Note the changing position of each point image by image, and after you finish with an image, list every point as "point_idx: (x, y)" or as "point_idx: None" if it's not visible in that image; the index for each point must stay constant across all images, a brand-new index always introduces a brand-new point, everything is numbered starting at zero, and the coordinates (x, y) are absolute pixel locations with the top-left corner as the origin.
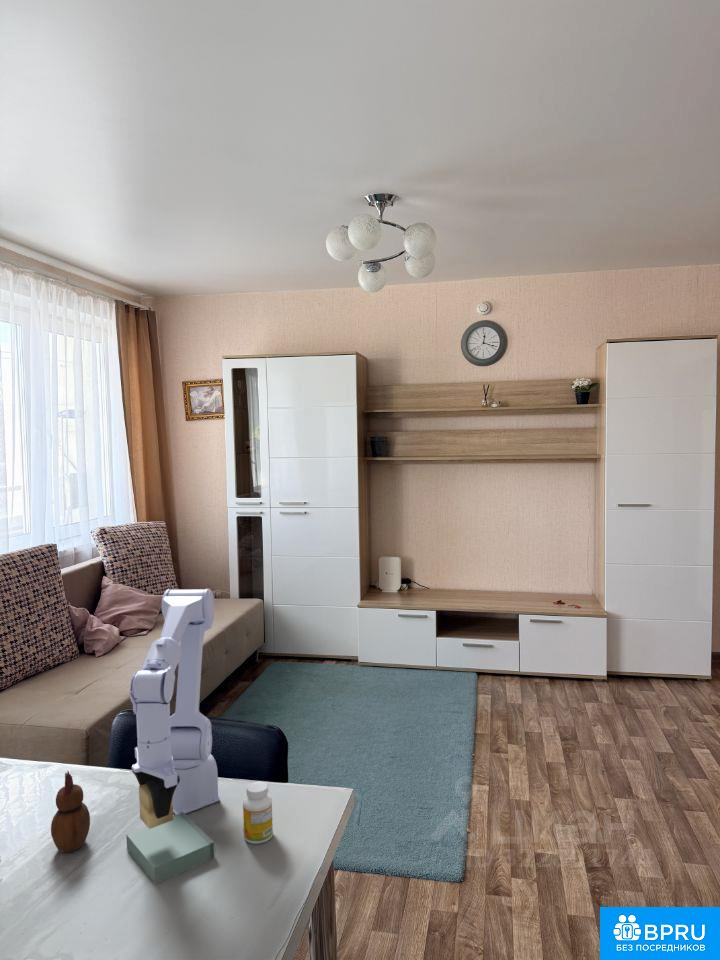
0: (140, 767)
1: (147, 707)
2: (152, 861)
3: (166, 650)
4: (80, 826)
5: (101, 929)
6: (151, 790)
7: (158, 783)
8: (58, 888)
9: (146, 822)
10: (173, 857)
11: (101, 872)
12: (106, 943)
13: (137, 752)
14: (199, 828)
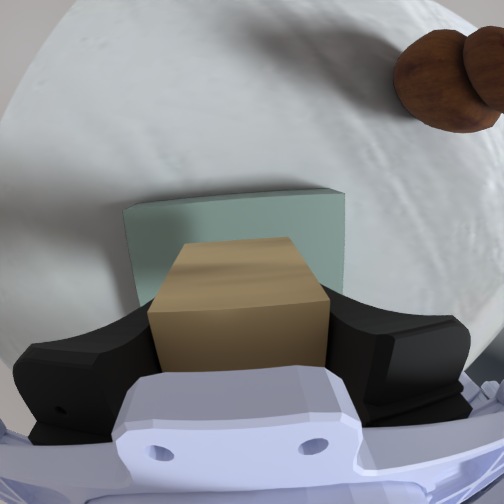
0: (145, 483)
1: None
2: (154, 215)
3: None
4: (422, 85)
5: (67, 73)
6: (30, 346)
7: (41, 413)
8: (266, 12)
9: (214, 245)
10: (141, 269)
11: (267, 101)
12: (33, 82)
13: None
14: None
